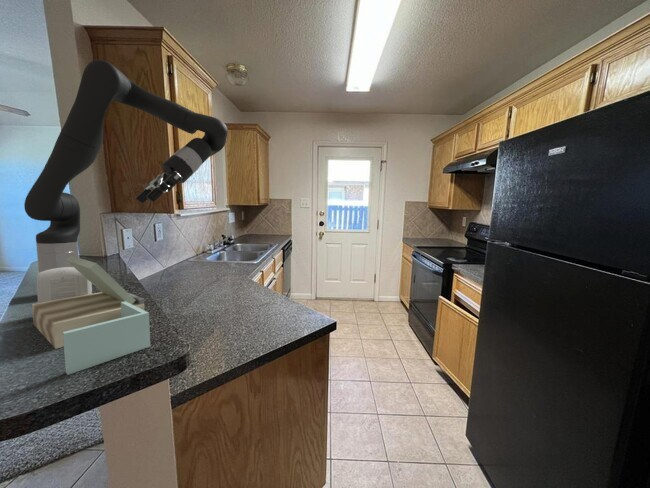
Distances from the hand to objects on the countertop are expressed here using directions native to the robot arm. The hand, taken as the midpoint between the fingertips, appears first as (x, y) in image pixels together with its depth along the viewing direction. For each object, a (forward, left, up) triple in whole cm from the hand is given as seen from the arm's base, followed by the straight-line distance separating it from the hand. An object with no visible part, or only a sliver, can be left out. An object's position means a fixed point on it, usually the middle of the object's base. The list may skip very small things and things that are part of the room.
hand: (143, 200), depth 74 cm
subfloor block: (+4, -14, -30) cm, 34 cm away
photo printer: (-9, -15, -31) cm, 35 cm away
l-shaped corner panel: (+22, -17, -31) cm, 42 cm away
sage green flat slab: (+4, -13, -21) cm, 24 cm away
